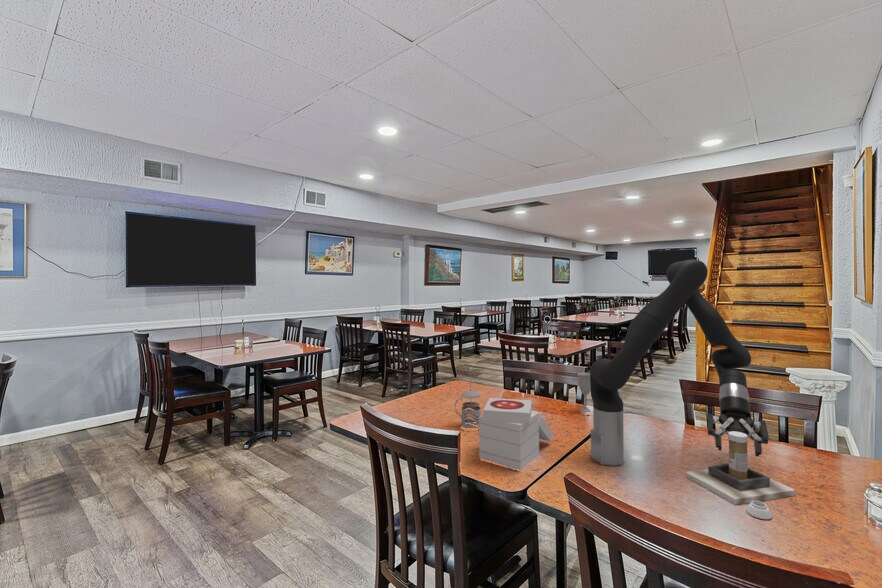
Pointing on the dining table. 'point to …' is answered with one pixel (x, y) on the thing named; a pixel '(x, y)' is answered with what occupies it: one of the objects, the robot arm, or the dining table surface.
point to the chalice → (584, 388)
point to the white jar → (759, 510)
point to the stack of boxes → (511, 432)
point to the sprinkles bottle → (738, 454)
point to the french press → (470, 405)
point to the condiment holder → (739, 485)
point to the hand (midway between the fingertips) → (738, 452)
